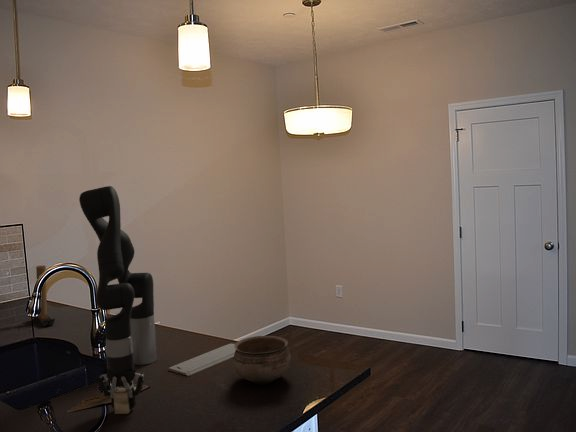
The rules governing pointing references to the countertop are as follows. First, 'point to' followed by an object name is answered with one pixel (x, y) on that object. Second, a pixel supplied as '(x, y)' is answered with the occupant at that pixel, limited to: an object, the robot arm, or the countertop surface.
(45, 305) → the hammer
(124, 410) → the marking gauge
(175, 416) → the countertop surface
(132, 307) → the robot arm
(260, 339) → the cooking pot
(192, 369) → the baseboard molding
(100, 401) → the wooden fragment
